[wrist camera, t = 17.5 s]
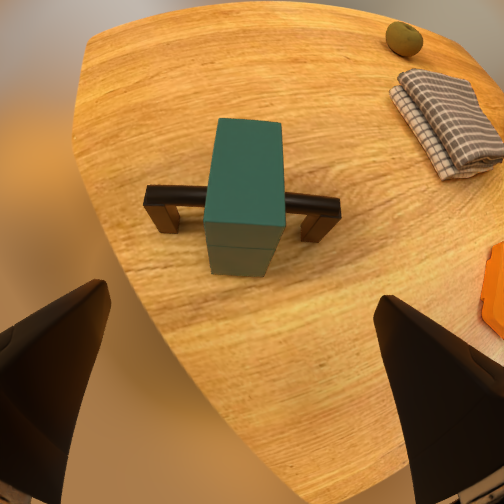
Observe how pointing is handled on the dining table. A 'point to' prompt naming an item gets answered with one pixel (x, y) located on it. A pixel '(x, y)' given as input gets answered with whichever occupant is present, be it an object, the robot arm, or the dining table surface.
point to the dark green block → (245, 197)
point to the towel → (448, 123)
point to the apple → (403, 39)
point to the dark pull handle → (169, 196)
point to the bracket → (494, 290)
